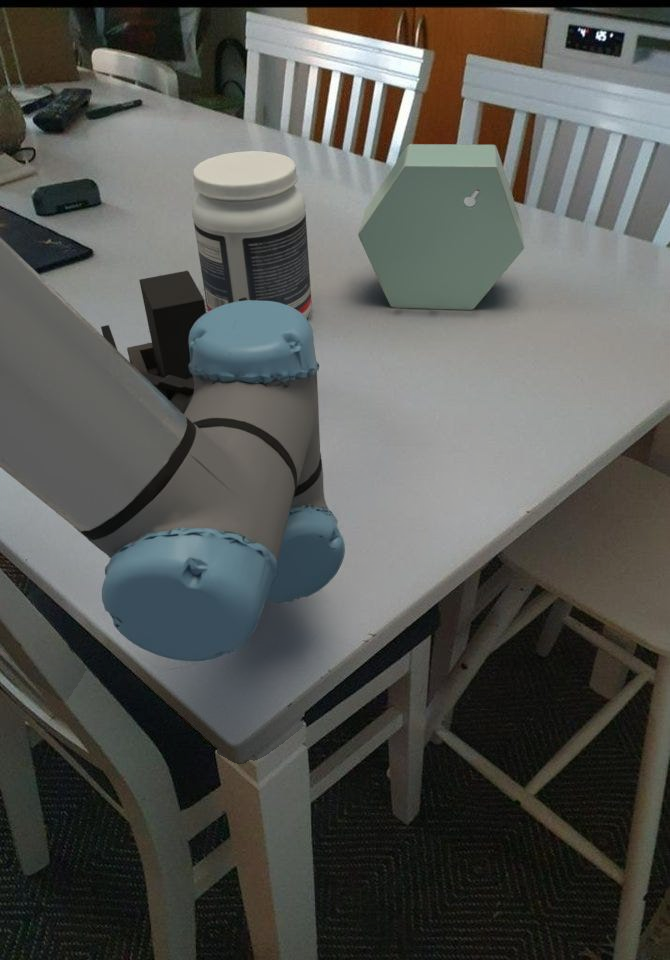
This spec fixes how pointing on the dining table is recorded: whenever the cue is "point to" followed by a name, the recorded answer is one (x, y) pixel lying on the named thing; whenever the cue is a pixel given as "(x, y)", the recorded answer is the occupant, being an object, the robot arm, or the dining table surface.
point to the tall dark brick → (172, 319)
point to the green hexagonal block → (442, 227)
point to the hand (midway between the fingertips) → (177, 323)
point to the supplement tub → (251, 230)
